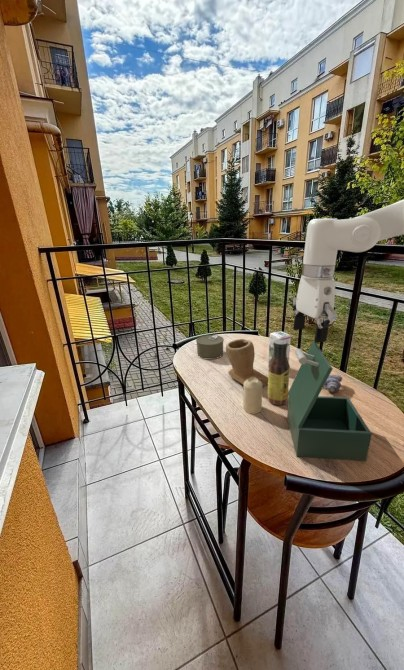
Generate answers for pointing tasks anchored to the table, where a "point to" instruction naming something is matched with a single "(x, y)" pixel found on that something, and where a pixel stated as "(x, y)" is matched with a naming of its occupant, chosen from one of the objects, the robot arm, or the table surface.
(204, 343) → the can
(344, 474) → the table surface
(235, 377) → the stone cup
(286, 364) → the sauce bottle
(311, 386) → the lid
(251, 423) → the table surface
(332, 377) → the seashell
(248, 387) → the candle
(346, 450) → the chest
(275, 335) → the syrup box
